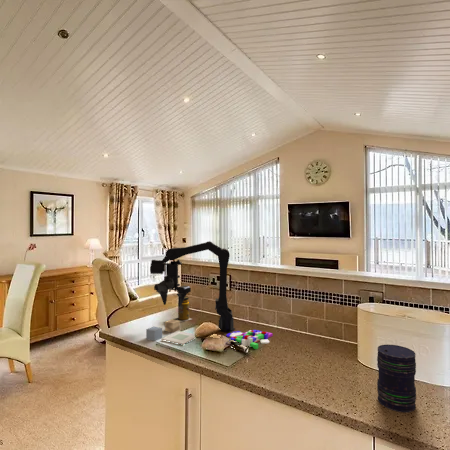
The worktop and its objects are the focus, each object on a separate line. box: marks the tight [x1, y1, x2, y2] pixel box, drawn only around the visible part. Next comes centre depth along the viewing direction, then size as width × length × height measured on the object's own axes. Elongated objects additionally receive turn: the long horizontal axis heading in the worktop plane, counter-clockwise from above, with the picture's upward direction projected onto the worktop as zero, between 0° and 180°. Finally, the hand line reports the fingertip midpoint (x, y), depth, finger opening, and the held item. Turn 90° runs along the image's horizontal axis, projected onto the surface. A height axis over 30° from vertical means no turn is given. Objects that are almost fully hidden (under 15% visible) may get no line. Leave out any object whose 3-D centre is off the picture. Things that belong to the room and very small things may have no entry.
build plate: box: [160, 330, 195, 346], centre depth 144 cm, size 12×12×1 cm
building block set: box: [225, 329, 274, 350], centre depth 143 cm, size 25×20×4 cm
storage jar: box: [376, 344, 417, 413], centre depth 92 cm, size 10×10×15 cm
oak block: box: [164, 318, 181, 334], centre depth 156 cm, size 5×5×4 cm
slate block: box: [145, 326, 163, 342], centre depth 145 cm, size 5×5×4 cm
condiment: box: [172, 296, 192, 323], centre depth 174 cm, size 7×8×12 cm
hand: (172, 305), depth 156 cm, fingers open, 9 cm apart
